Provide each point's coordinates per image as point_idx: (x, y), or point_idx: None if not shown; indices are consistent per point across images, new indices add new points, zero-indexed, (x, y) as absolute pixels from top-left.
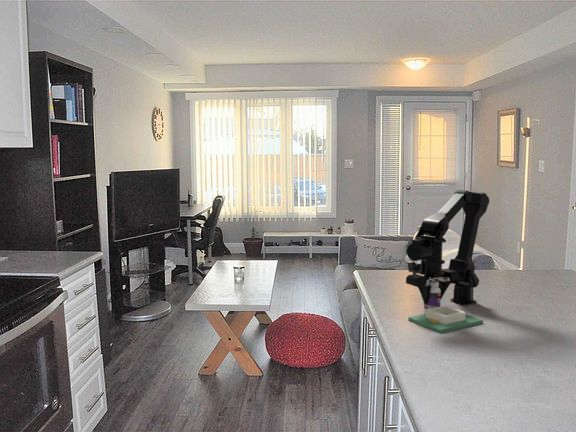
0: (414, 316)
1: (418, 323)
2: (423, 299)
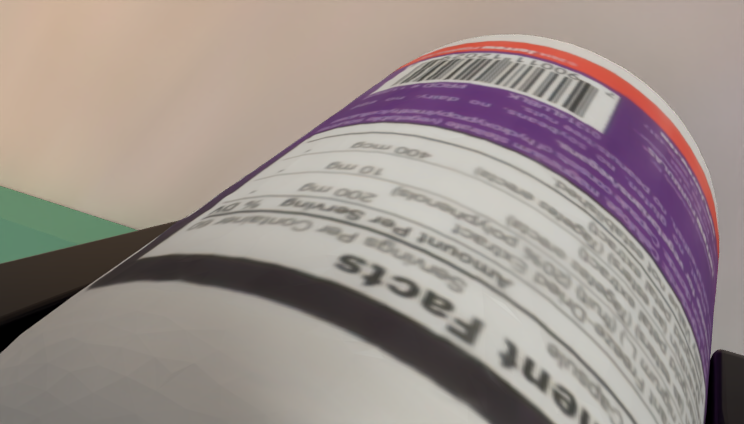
0: (8, 234)
1: None
2: None
